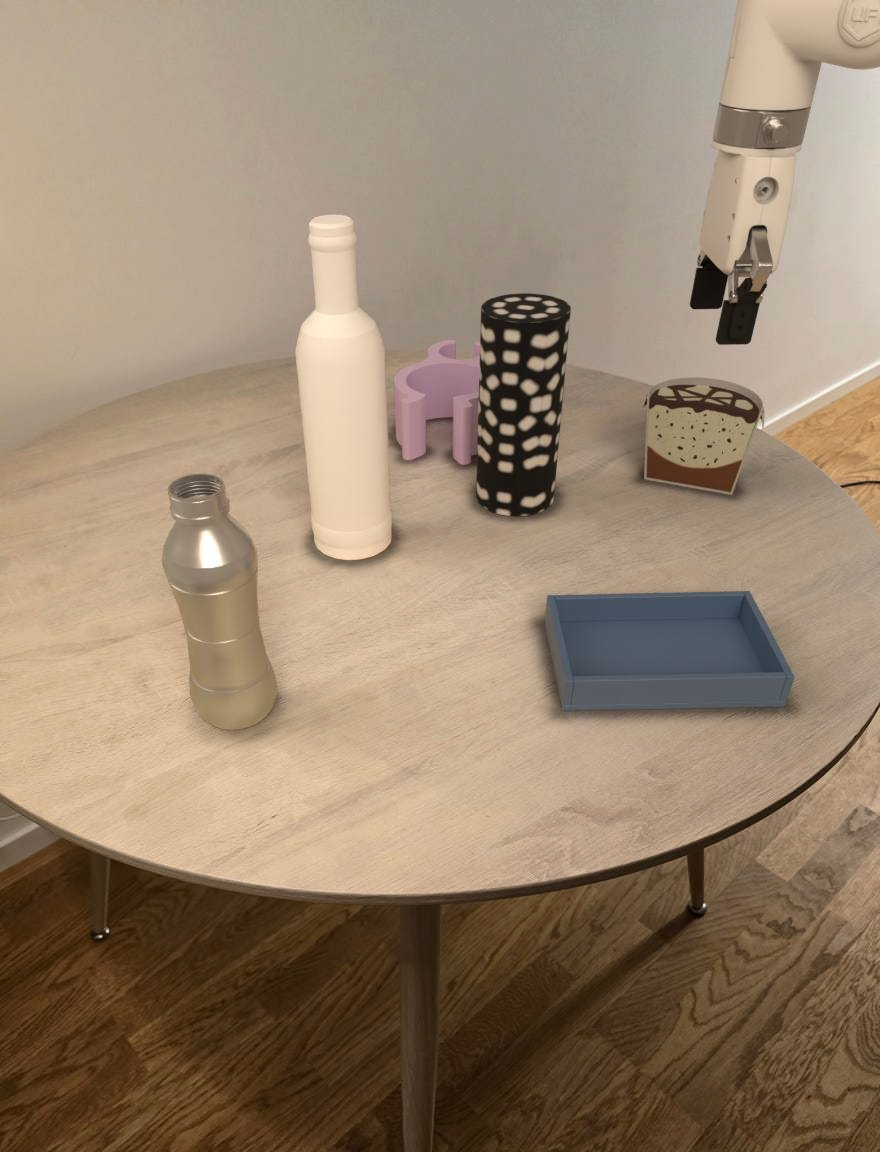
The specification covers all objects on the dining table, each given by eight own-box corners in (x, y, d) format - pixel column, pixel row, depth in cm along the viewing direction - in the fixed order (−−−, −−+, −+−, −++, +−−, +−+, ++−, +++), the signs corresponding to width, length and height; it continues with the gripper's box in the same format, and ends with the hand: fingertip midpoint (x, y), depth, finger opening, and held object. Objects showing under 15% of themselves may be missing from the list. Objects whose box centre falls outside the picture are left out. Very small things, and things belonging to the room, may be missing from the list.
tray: (742, 619, 78) (749, 590, 76) (785, 707, 69) (795, 676, 67) (544, 623, 78) (547, 594, 76) (562, 711, 69) (566, 681, 68)
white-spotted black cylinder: (465, 508, 94) (468, 317, 82) (489, 473, 100) (496, 289, 88) (541, 522, 91) (557, 327, 79) (562, 485, 97) (580, 298, 85)
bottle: (389, 562, 86) (376, 232, 68) (308, 561, 87) (273, 233, 68) (394, 519, 93) (384, 206, 74) (319, 519, 93) (290, 207, 75)
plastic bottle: (221, 677, 74) (177, 456, 61) (295, 695, 72) (265, 471, 59) (179, 728, 69) (122, 501, 57) (256, 750, 67) (215, 519, 55)
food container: (754, 471, 99) (776, 384, 92) (746, 497, 94) (768, 408, 88) (643, 452, 103) (656, 368, 97) (630, 476, 98) (643, 390, 92)
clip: (419, 389, 119) (418, 337, 114) (512, 395, 116) (515, 343, 112) (382, 458, 104) (380, 401, 99) (489, 467, 101) (491, 409, 97)
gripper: (840, 148, 71) (785, 358, 82) (770, 111, 84) (731, 295, 95) (746, 149, 71) (703, 359, 82) (691, 112, 84) (660, 296, 95)
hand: (718, 325), depth 88 cm, fingers open, 9 cm apart
